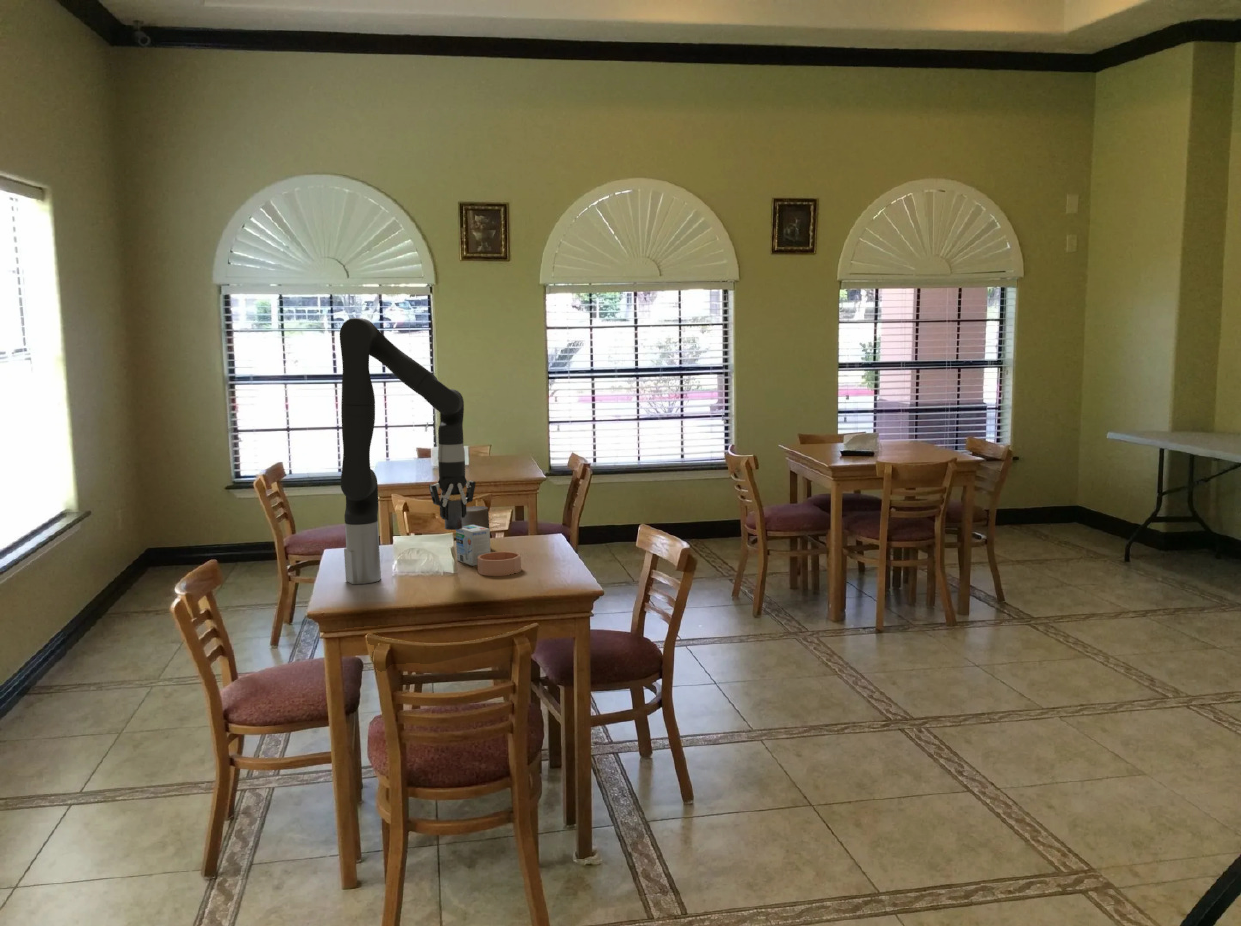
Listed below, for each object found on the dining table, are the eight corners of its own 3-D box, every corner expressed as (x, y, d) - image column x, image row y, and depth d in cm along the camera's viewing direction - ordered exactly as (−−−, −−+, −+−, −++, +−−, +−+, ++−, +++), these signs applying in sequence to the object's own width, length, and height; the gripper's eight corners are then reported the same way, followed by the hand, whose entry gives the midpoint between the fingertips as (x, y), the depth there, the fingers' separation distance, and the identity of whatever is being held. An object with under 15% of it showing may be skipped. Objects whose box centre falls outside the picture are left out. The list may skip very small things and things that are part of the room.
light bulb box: (456, 560, 318) (454, 526, 316) (475, 557, 322) (473, 524, 320) (472, 566, 309) (471, 531, 308) (492, 562, 313) (490, 528, 312)
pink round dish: (490, 577, 293) (489, 562, 292) (470, 570, 303) (470, 555, 303) (528, 571, 300) (528, 556, 299) (508, 564, 310) (507, 549, 310)
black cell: (449, 530, 288) (448, 495, 287) (442, 527, 293) (440, 493, 291) (465, 528, 291) (464, 494, 290) (458, 525, 295) (456, 491, 294)
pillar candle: (495, 546, 338) (493, 502, 336) (482, 552, 328) (480, 506, 327) (468, 546, 340) (466, 502, 339) (455, 551, 331) (453, 506, 330)
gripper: (433, 462, 282) (435, 522, 284) (480, 458, 290) (481, 517, 293) (422, 460, 289) (424, 519, 291) (468, 456, 297) (470, 513, 299)
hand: (453, 518), depth 292 cm, fingers closed on black cell, 5 cm apart
